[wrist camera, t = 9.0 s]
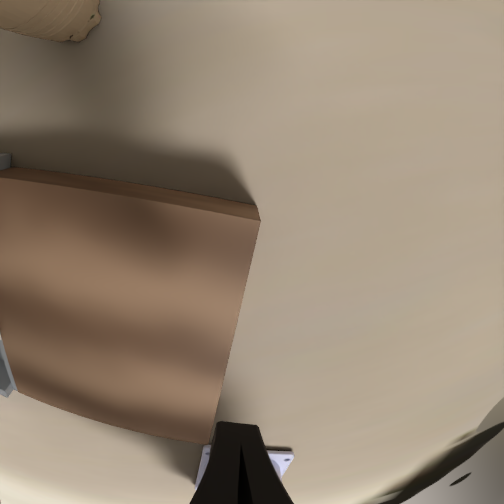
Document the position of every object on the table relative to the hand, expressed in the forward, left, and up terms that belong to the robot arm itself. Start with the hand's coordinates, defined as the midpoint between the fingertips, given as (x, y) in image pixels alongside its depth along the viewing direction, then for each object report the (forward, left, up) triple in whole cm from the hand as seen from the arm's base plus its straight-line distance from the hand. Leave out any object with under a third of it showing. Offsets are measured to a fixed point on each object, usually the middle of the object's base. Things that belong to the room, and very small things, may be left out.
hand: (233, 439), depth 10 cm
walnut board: (-2, +8, -9) cm, 12 cm away
